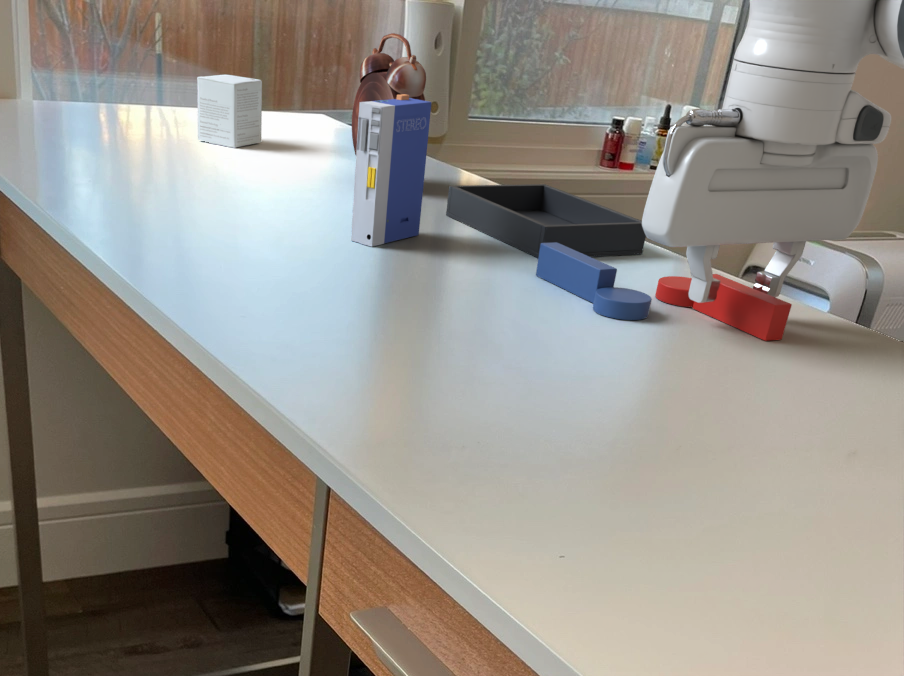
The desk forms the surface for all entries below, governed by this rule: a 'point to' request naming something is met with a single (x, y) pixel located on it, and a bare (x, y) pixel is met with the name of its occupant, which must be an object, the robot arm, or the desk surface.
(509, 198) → the tray
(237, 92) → the product box
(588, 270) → the blue spoon
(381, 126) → the walkman
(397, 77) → the alarm clock
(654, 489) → the desk surface
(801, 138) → the robot arm
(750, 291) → the red spoon
